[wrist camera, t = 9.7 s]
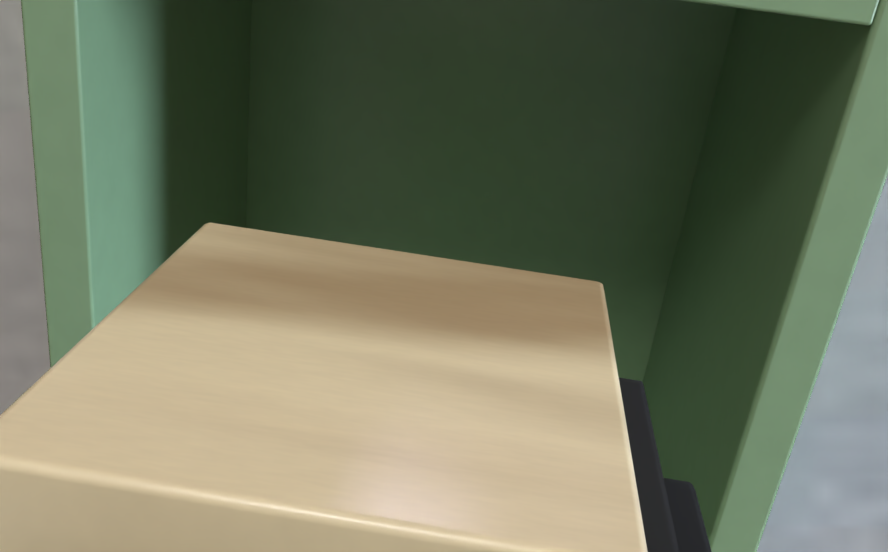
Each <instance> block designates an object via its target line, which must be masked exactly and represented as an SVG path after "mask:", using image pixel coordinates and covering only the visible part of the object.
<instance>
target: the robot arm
mask: <svg viewBox="0 0 888 552" xmlns="http://www.w3.org/2000/svg"><path fill="white" fill-rule="evenodd" d="M619 382H620V388H621V394H622V400H623V406H624V412H625V418H626V424H627V431H628V437H629V443H630V449H631V455H632V461H633V467H634V473H635V479H636V485H637V491H638V497H639V503H640V509H641V515H642V521H643V527H644V533H645V539H646V545H647V551H648V552H711V548H710V544H709V540H708V536H707V533H706V529H705V525H704V521H703V517H702V514H701V510H700V506H699V502H698V499H697V495H696V491H695V489H694V486H693V484H691V483H690V482H687V481H680V480H674V479H668V478H663V474H662V469H661V464H660V460H659V455H658V450H657V446H656V441H655V436H654V432H653V427H652V422H651V418H650V413H649V408H648V403H647V399H646V394H645V389H644V385H643V382H642V381H638V380H632V379H626V378H619Z"/></svg>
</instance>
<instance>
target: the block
mask: <svg viewBox="0 0 888 552" xmlns="http://www.w3.org/2000/svg"><path fill="white" fill-rule="evenodd" d="M0 552H648V551H647V545H646V539H645V533H644V527H643V521H642V515H641V509H640V503H639V497H638V491H637V485H636V479H635V473H634V467H633V461H632V455H631V449H630V443H629V437H628V431H627V424H626V418H625V412H624V406H623V400H622V394H621V388H620V382H619V376H618V370H617V364H616V358H615V352H614V346H613V340H612V334H611V328H610V322H609V316H608V310H607V304H606V298H605V292H604V287H603V284H602V283H600V282H597V281H591V280H584V279H578V278H571V277H565V276H558V275H552V274H545V273H538V272H532V271H525V270H519V269H512V268H506V267H499V266H492V265H486V264H479V263H473V262H466V261H460V260H453V259H447V258H440V257H433V256H427V255H420V254H414V253H407V252H401V251H394V250H387V249H381V248H374V247H368V246H361V245H355V244H348V243H341V242H335V241H328V240H322V239H315V238H309V237H302V236H296V235H289V234H282V233H276V232H269V231H263V230H256V229H250V228H243V227H236V226H230V225H223V224H217V223H206V224H204V225H203V226H202V227H201V228H200V229H199V230H198V231H197V232H196V233H195V234H194V235H192V236H191V237H190V238H189V239H188V240H187V241H186V242H185V243H184V244H183V245H182V246H181V247H180V248H179V249H178V250H176V251H175V252H174V253H173V254H172V255H171V256H170V257H169V258H168V259H167V260H166V261H165V262H164V263H163V264H161V265H160V266H159V267H158V268H157V269H156V270H155V271H154V272H153V273H152V274H151V275H150V276H149V277H148V278H147V279H145V280H144V281H143V282H142V283H141V284H140V285H139V286H138V287H137V288H136V289H135V290H134V291H133V292H132V293H131V294H129V295H128V296H127V297H126V298H125V299H124V300H123V301H122V302H121V303H120V304H119V305H118V306H117V307H116V308H114V309H113V310H112V311H111V312H110V313H109V314H108V315H107V316H106V317H105V318H104V319H103V320H102V321H101V322H100V323H98V324H97V325H96V326H95V327H94V328H93V329H92V330H91V331H90V332H89V333H88V334H87V335H86V336H85V337H83V338H82V339H81V340H80V341H79V342H78V343H77V344H76V345H75V346H74V347H73V348H72V349H71V350H70V351H69V352H67V353H66V354H65V355H64V356H63V357H62V358H61V359H60V360H59V361H58V362H57V363H56V364H55V365H54V366H52V367H51V368H50V369H49V370H48V371H47V372H46V373H45V374H44V375H43V376H42V377H41V378H40V379H39V380H38V381H36V382H35V383H34V384H33V385H32V386H31V387H30V388H29V389H28V390H27V391H26V392H25V393H24V394H23V395H21V396H20V397H19V398H18V399H17V400H16V401H15V402H14V403H13V404H12V405H11V406H10V407H9V408H8V409H7V410H5V411H4V412H3V413H2V414H1V415H0Z"/></svg>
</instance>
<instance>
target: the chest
mask: <svg viewBox="0 0 888 552" xmlns="http://www.w3.org/2000/svg"><path fill="white" fill-rule="evenodd" d="M21 6H22V18H23V31H24V43H25V56H26V68H27V81H28V93H29V105H30V118H31V130H32V143H33V155H34V168H35V180H36V192H37V205H38V217H39V230H40V242H41V255H42V267H43V280H44V292H45V304H46V317H47V329H48V342H49V354H50V367H52V366H54V365H55V364H56V363H57V362H58V361H59V360H60V359H61V358H62V357H63V356H64V355H65V354H66V353H67V352H69V351H70V350H71V349H72V348H73V347H74V346H75V345H76V344H77V343H78V342H79V341H80V340H81V339H82V338H83V337H85V336H86V335H87V334H88V333H89V332H90V331H91V330H92V329H93V328H94V327H95V326H96V325H97V324H98V323H100V322H101V321H102V320H103V319H104V318H105V317H106V316H107V315H108V314H109V313H110V312H111V311H112V310H113V309H114V308H116V307H117V306H118V305H119V304H120V303H121V302H122V301H123V300H124V299H125V298H126V297H127V296H128V295H129V294H131V293H132V292H133V291H134V290H135V289H136V288H137V287H138V286H139V285H140V284H141V283H142V282H143V281H144V280H145V279H147V278H148V277H149V276H150V275H151V274H152V273H153V272H154V271H155V270H156V269H157V268H158V267H159V266H160V265H161V264H163V263H164V262H165V261H166V260H167V259H168V258H169V257H170V256H171V255H172V254H173V253H174V252H175V251H176V250H178V249H179V248H180V247H181V246H182V245H183V244H184V243H185V242H186V241H187V240H188V239H189V238H190V237H191V236H192V235H194V234H195V233H196V232H197V231H198V230H199V229H200V228H201V227H202V226H203V225H204V224H206V223H217V224H223V225H230V226H236V227H243V228H250V229H256V230H263V231H269V232H276V233H282V234H289V235H296V236H302V237H309V238H315V239H322V240H328V241H335V242H341V243H348V244H355V245H361V246H368V247H374V248H381V249H387V250H394V251H401V252H407V253H414V254H420V255H427V256H433V257H440V258H447V259H453V260H460V261H466V262H473V263H479V264H486V265H492V266H499V267H506V268H512V269H519V270H525V271H532V272H538V273H545V274H552V275H558V276H565V277H571V278H578V279H584V280H591V281H597V282H600V283H602V284H603V287H604V292H605V298H606V304H607V310H608V316H609V322H610V328H611V334H612V340H613V346H614V352H615V358H616V364H617V370H618V376H619V378H626V379H632V380H638V381H642V382H643V385H644V389H645V394H646V399H647V403H648V408H649V413H650V418H651V422H652V427H653V432H654V436H655V441H656V446H657V450H658V455H659V460H660V464H661V469H662V474H663V478H668V479H674V480H680V481H687V482H690V483H691V484H693V486H694V489H695V491H696V495H697V499H698V502H699V506H700V510H701V514H702V517H703V521H704V525H705V529H706V533H707V536H708V540H709V544H710V548H711V552H756V551H757V549H758V546H759V543H760V540H761V537H762V534H763V531H764V528H765V526H766V523H767V520H768V517H769V514H770V511H771V508H772V505H773V503H774V500H775V497H776V494H777V491H778V488H779V485H780V482H781V480H782V477H783V474H784V471H785V468H786V465H787V462H788V459H789V457H790V454H791V451H792V448H793V445H794V442H795V439H796V436H797V434H798V431H799V428H800V425H801V422H802V419H803V416H804V413H805V411H806V408H807V405H808V402H809V399H810V396H811V393H812V390H813V388H814V385H815V382H816V379H817V376H818V373H819V370H820V367H821V365H822V362H823V359H824V356H825V353H826V350H827V347H828V344H829V342H830V339H831V336H832V333H833V330H834V327H835V324H836V321H837V319H838V316H839V313H840V310H841V307H842V304H843V301H844V298H845V296H846V293H847V290H848V287H849V284H850V281H851V278H852V275H853V273H854V270H855V267H856V264H857V261H858V258H859V255H860V252H861V250H862V247H863V244H864V241H865V238H866V235H867V232H868V229H869V227H870V224H871V221H872V218H873V215H874V212H875V209H876V207H877V204H878V201H879V198H880V195H881V192H882V189H883V186H884V184H885V181H886V178H887V175H888V0H21Z"/></svg>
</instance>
